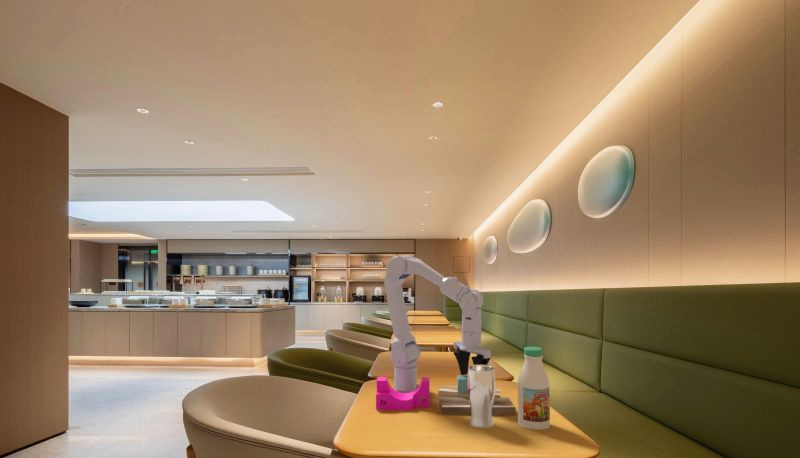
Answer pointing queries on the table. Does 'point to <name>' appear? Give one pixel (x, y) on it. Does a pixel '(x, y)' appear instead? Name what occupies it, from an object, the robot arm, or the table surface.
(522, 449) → the table surface
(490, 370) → the silver metal tumbler
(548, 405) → the milk bottle
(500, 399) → the dock
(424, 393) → the pink pipe cradle
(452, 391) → the tan tray
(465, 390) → the teal cube
